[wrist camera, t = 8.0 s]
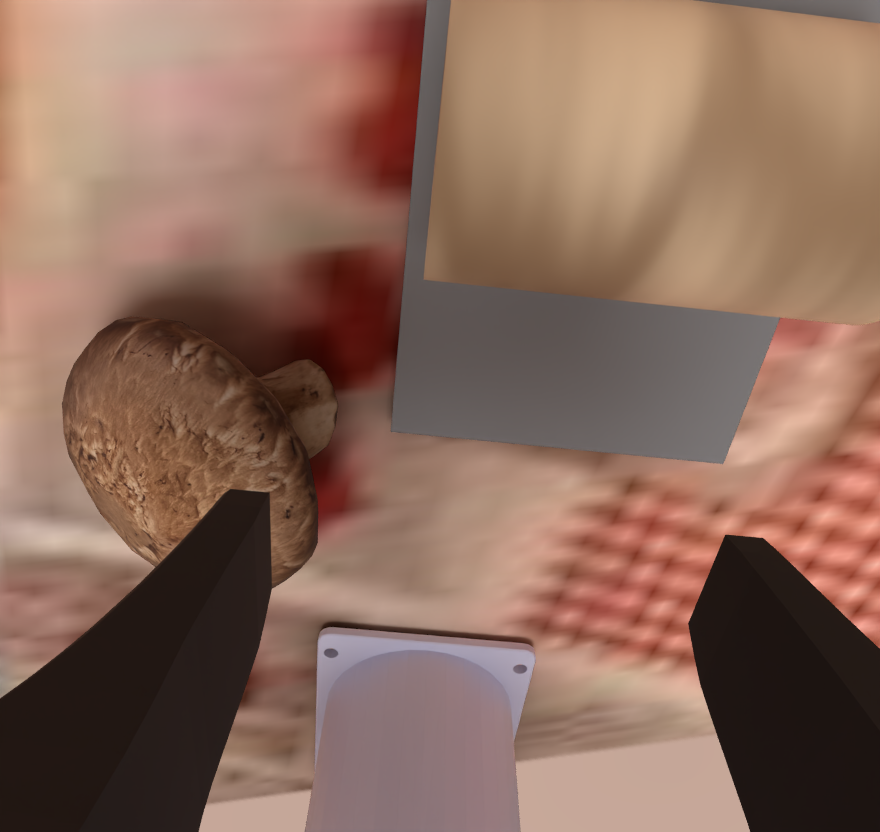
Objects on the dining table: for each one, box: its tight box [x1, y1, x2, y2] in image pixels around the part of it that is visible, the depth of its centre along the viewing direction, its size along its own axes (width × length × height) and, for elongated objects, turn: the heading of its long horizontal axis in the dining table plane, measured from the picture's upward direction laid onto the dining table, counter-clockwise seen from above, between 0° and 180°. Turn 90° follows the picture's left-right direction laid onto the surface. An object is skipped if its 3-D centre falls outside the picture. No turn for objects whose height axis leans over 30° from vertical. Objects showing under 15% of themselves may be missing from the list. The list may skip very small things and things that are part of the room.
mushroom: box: [62, 317, 338, 588], centre depth 20 cm, size 8×8×6 cm
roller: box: [424, 0, 880, 325], centre depth 15 cm, size 6×9×6 cm, turn 84°
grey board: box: [391, 0, 880, 464], centre depth 18 cm, size 16×10×1 cm, turn 174°
